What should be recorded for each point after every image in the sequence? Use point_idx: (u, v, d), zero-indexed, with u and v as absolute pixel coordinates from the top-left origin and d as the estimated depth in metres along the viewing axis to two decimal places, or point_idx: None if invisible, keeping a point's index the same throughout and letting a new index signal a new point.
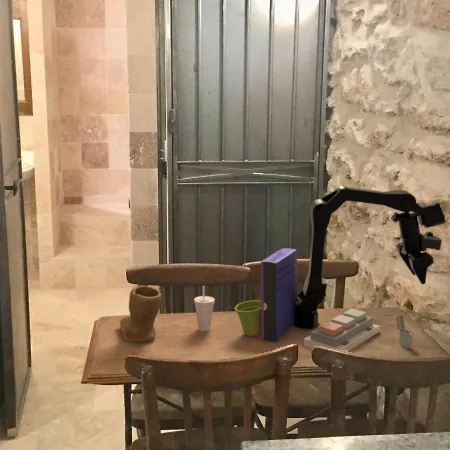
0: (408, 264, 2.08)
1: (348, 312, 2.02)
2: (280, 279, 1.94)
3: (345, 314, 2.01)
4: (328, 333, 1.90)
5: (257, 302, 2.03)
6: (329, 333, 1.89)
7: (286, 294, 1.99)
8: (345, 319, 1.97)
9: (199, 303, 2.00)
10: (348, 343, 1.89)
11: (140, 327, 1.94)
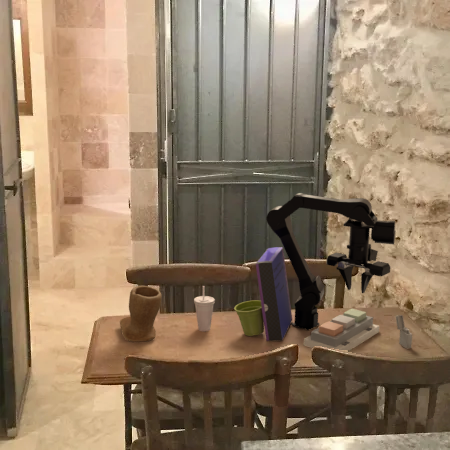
0: (347, 278, 2.00)
1: (348, 312, 2.02)
2: (276, 278, 1.94)
3: (345, 314, 2.01)
4: (328, 333, 1.90)
5: (256, 301, 2.03)
6: (329, 333, 1.89)
7: (282, 292, 2.00)
8: (345, 319, 1.97)
9: (199, 303, 2.00)
10: (348, 343, 1.89)
11: (140, 327, 1.94)
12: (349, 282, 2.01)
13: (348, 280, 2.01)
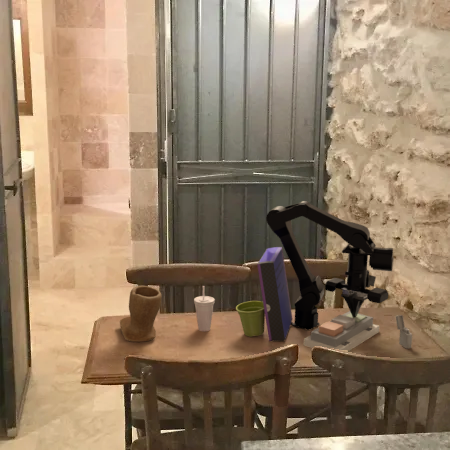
0: (352, 306, 2.01)
1: (348, 316, 2.02)
2: (278, 278, 1.94)
3: None
4: (328, 333, 1.90)
5: (258, 302, 2.02)
6: (329, 333, 1.89)
7: (283, 292, 2.00)
8: (345, 319, 1.97)
9: (199, 303, 2.00)
10: (348, 343, 1.89)
11: (140, 327, 1.94)
12: None
13: None
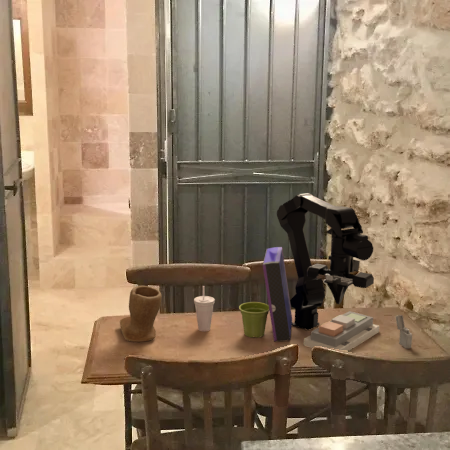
0: (336, 292, 1.91)
1: None
2: (282, 278, 1.94)
3: None
4: (328, 333, 1.90)
5: (261, 304, 2.03)
6: (329, 333, 1.89)
7: (285, 292, 2.00)
8: (345, 319, 1.97)
9: (199, 303, 2.00)
10: (348, 343, 1.89)
11: (140, 327, 1.94)
12: None
13: None
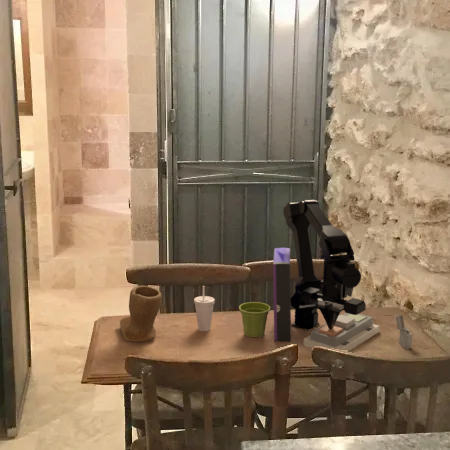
0: (328, 317, 1.90)
1: None
2: None
3: None
4: None
5: (261, 304, 2.03)
6: None
7: None
8: (345, 319, 1.97)
9: (199, 303, 2.00)
10: (348, 343, 1.89)
11: (140, 327, 1.94)
12: None
13: None
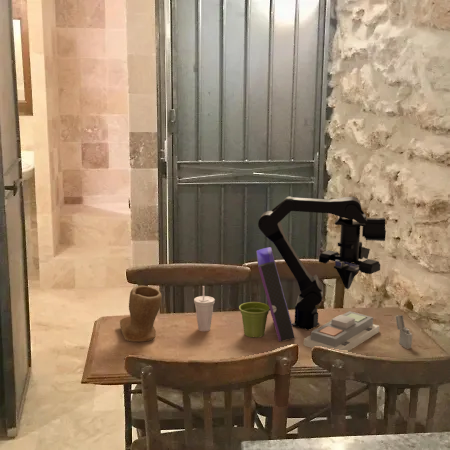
0: (344, 277, 2.01)
1: None
2: (278, 278, 1.94)
3: None
4: None
5: (261, 304, 2.03)
6: None
7: None
8: (345, 319, 1.97)
9: (199, 303, 2.00)
10: (348, 343, 1.89)
11: (140, 327, 1.94)
12: None
13: (345, 279, 2.02)
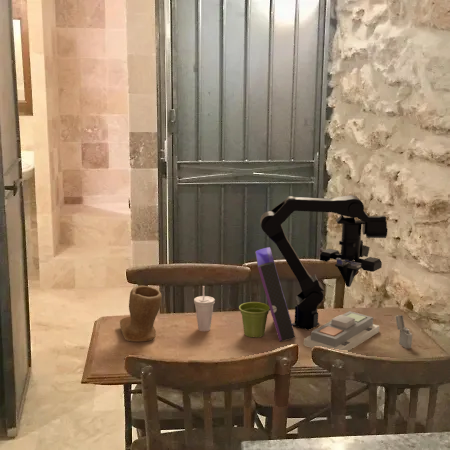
0: (346, 275, 2.03)
1: None
2: (278, 278, 1.94)
3: None
4: None
5: (261, 304, 2.03)
6: None
7: None
8: (345, 319, 1.97)
9: (199, 303, 2.00)
10: (348, 343, 1.89)
11: (140, 327, 1.94)
12: None
13: None
